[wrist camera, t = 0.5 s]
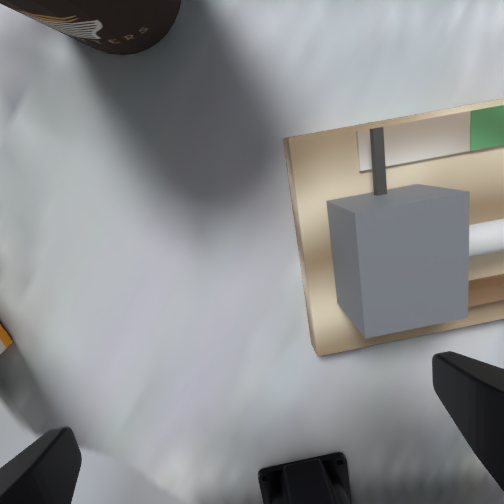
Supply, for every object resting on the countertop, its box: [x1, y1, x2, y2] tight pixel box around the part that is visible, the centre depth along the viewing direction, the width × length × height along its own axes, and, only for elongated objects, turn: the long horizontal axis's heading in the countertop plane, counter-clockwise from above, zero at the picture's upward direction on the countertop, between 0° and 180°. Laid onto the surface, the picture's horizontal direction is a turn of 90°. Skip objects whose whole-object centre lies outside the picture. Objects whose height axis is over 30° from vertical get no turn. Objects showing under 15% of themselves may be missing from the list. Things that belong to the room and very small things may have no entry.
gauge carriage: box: [326, 127, 504, 338], centre depth 17 cm, size 9×11×4 cm
